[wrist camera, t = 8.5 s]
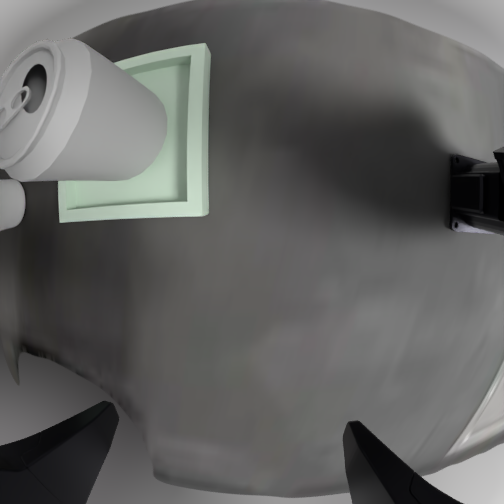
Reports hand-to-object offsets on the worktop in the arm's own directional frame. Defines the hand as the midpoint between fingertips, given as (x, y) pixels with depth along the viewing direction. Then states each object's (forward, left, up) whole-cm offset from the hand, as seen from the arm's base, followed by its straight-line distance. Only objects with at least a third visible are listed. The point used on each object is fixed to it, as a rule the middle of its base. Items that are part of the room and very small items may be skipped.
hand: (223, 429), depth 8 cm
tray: (+9, -13, -13) cm, 21 cm away
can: (+9, -13, -13) cm, 20 cm away
